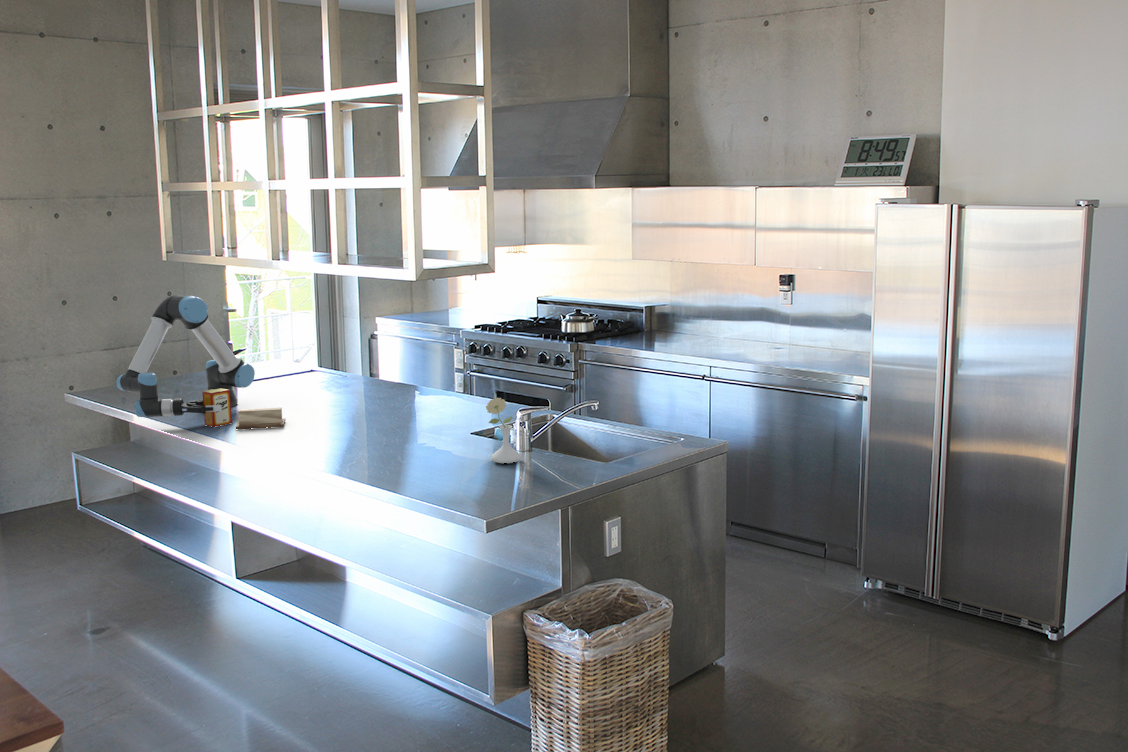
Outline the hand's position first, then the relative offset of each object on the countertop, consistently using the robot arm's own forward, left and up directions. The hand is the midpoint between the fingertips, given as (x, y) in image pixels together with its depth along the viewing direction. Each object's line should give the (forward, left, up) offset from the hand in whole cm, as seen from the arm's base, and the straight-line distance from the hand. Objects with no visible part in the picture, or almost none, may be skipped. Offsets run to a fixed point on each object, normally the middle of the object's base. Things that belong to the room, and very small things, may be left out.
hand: (223, 404), depth 420 cm
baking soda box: (0, -3, -9) cm, 10 cm away
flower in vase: (+92, +113, -9) cm, 146 cm away
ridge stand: (+7, +16, -9) cm, 20 cm away
